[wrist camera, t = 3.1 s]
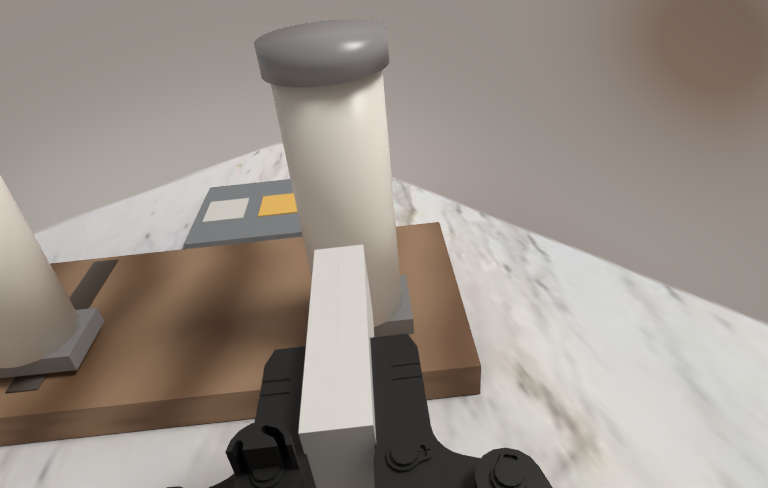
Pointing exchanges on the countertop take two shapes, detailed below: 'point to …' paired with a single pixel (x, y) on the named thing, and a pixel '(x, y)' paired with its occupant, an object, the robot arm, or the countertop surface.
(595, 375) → the countertop surface
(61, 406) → the brown wooden board
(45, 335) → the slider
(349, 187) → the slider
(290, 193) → the card
